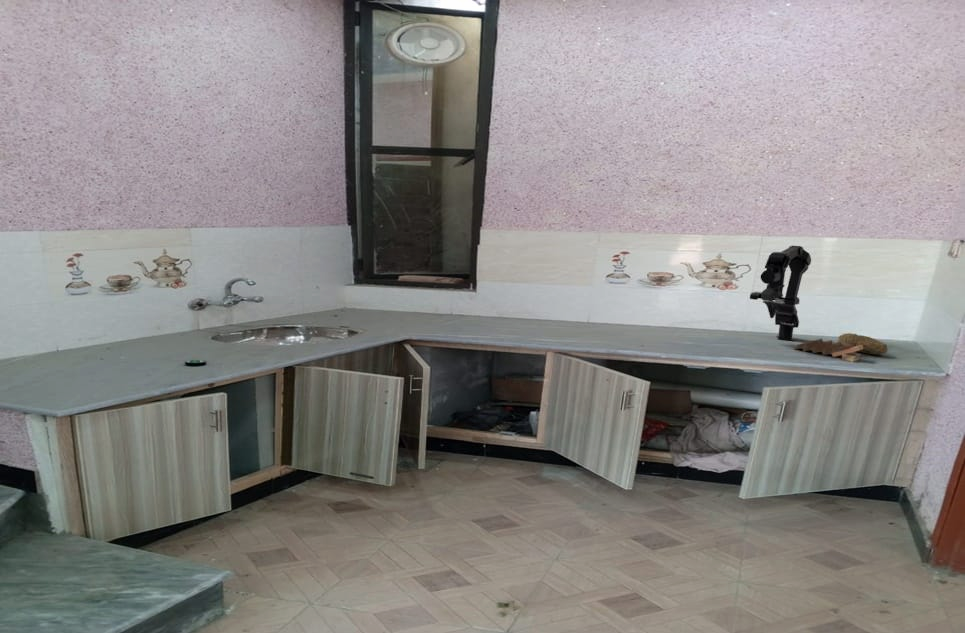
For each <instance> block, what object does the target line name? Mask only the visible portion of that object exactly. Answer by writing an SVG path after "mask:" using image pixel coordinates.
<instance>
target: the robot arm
mask: <svg viewBox="0 0 965 633" xmlns="http://www.w3.org/2000/svg"><path fill="white" fill-rule="evenodd" d="M811 263H812V257H811V254H810V253H809V252H808V251H807V250H805V249H804V247H803V246H801V245H789V247H787V248H786V249H784V250H782V251H774V252H773V251H772V252H771V253H770V254H769V255H768V259H767V260H766V263H765V266H764V269H766V270H763V272H762V273H761V274H760V280H761V282H763V284H766V288H764V289H763V290H762V291H761V292H760V291H753V292H751V293H750V295H749V300H755V301H757V300H759V299H760V300H762V303H764V304H765V305H766V307H767V311H768V314H769V318H770V319H773V318H774V323H775V324H774V325H776V326H779V328H778V335H776V338H777V340H781V341H782V340H783V341H793V342H794V341H795V339H794V338H793V335H794V334H793V333H794V329H795V328H799V325H800V321H799V317H798V310H797V308H796V306H797V305H800V297H798V294H799V290H800V286H801V281H802V278H803V275H804V274H805V272H807V271H808V270H809V267H810V265H811ZM788 268H789V270H790V276H789V280H788V283H787V288H786V292H785V296H784V294H783V292H784V291H783V290H784V288H785V284H784V283H785V276H786V272H787V269H788Z"/></svg>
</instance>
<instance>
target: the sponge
mask: <svg viewBox="0 0 965 633" xmlns="http://www.w3.org/2000/svg"><path fill="white" fill-rule="evenodd" d="M837 341H838V343H839V342H842V344H843V345H847V344H851V343H852V345H853V347H855V346H859V345H862V346H863V348H864V349H862V350H859V351H857V352H859V353H862V354H868V355H886V353H888V345H887V344H886V343H883V342H882V341H879V340H878V339H876V338H872V337H870V336H865V335H861V334H857V333H852V332H851V333H849V332H848V333H842V334H841V335H839V336H838V340H837Z"/></svg>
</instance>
